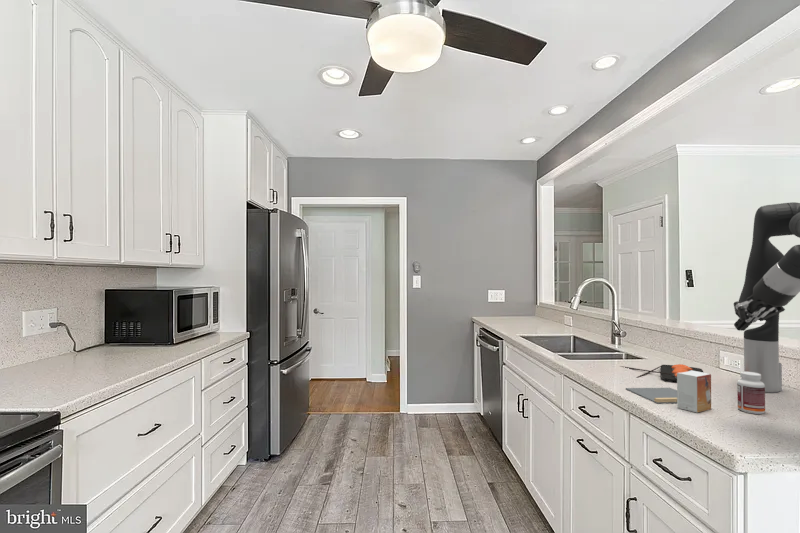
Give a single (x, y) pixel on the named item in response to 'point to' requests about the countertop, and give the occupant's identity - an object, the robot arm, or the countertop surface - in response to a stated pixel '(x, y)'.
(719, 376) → the countertop surface
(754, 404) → the pill bottle
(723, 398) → the countertop surface
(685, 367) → the sushi plate
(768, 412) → the countertop surface
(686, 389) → the small box
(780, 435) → the countertop surface
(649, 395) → the board
